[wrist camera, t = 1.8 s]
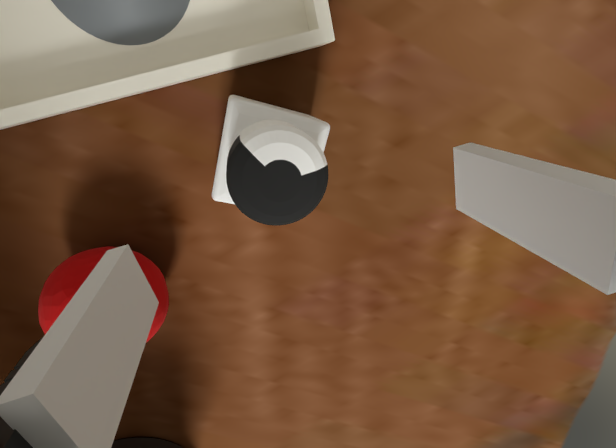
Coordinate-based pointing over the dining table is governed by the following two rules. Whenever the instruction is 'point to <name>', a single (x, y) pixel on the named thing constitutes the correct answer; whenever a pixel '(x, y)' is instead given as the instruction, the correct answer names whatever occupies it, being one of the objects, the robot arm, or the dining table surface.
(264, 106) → the medicine bottle
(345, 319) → the dining table surface
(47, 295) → the fruit
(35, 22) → the tray
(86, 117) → the dining table surface
